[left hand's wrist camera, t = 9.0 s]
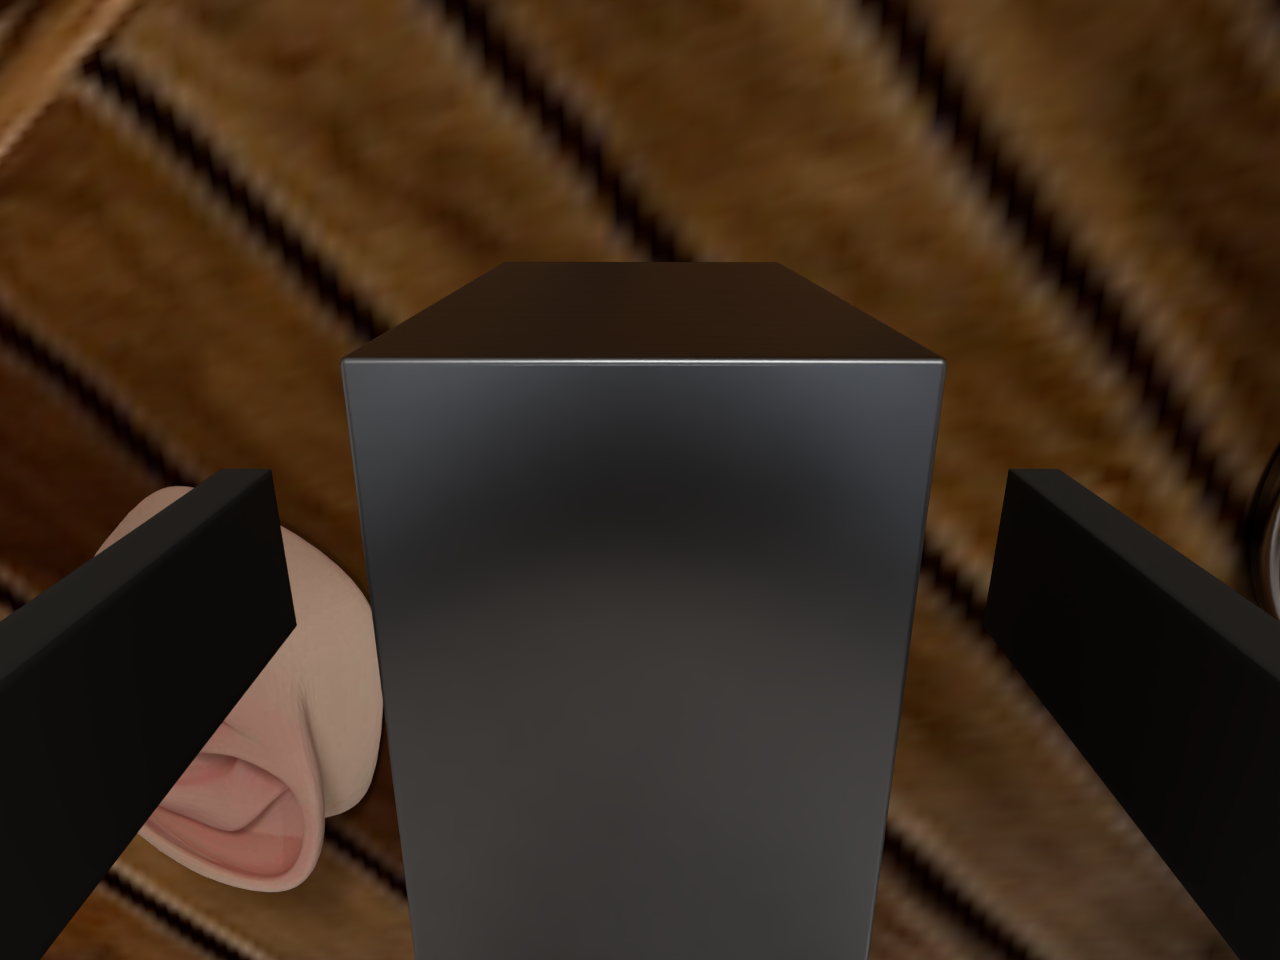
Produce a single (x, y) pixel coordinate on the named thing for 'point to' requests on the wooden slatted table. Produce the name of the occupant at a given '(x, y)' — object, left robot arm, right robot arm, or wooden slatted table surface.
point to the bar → (642, 606)
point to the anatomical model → (280, 736)
